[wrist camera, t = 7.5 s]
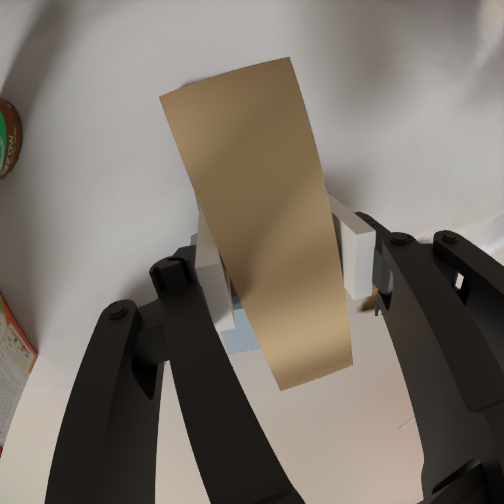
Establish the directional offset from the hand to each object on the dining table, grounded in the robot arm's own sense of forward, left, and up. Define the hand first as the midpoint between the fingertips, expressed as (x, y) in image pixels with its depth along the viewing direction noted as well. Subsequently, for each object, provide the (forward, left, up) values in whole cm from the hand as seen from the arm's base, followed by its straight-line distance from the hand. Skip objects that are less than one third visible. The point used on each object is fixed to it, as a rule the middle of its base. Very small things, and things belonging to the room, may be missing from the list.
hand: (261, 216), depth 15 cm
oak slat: (0, 0, -1) cm, 1 cm away
